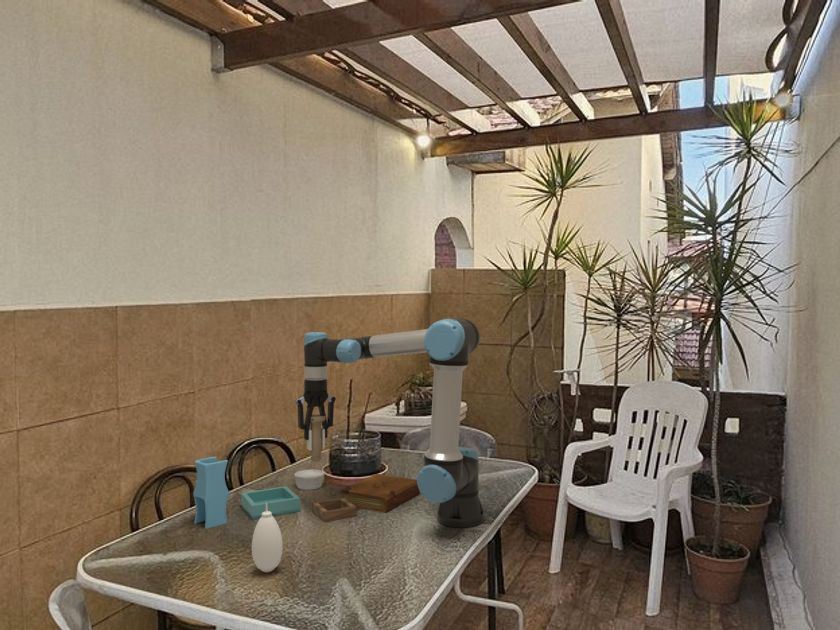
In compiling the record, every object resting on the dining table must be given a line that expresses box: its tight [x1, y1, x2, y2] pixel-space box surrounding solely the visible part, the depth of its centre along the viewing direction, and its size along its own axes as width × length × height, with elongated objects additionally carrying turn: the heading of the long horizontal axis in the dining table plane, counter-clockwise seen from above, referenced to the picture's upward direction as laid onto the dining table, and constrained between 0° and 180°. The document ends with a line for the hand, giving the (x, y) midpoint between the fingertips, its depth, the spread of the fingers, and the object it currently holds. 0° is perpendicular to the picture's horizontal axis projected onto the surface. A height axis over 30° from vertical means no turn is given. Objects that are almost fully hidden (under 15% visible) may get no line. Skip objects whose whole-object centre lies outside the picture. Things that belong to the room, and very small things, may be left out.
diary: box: [339, 473, 421, 513], centre depth 221 cm, size 23×19×6 cm
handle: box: [309, 414, 325, 463], centre depth 208 cm, size 5×6×15 cm
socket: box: [311, 496, 358, 523], centre depth 206 cm, size 12×11×3 cm
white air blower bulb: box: [251, 502, 284, 573], centre depth 163 cm, size 8×8×18 cm
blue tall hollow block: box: [192, 456, 230, 530], centre depth 199 cm, size 8×8×20 cm
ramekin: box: [293, 469, 325, 491], centre depth 238 cm, size 11×11×5 cm
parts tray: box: [240, 485, 301, 521], centre depth 212 cm, size 16×16×4 cm
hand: (315, 448), depth 208 cm, fingers closed on handle, 4 cm apart
